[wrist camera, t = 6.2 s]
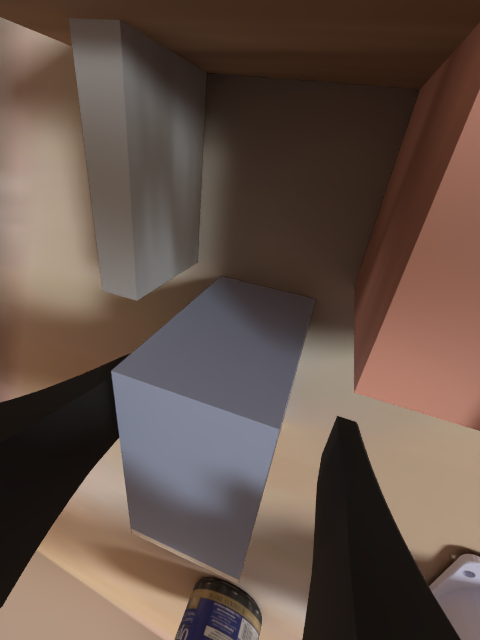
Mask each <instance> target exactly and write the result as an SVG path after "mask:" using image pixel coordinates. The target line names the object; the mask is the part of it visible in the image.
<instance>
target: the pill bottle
mask: <svg viewBox="0 0 480 640" xmlns="http://www.w3.org/2000/svg"><path fill="white" fill-rule="evenodd" d="M261 624H262V616H261V612H260V610H259V608H258V606H257V605H256V604H255V602H254V601H253V600H252V599H251V598H250V597H249V596H248V595H247V594H245V593H244V592H243V591H241V590H239V589H237V588H236V587H234V586H232V585H230V584H228V583H226V582H223V581H220V580H217V579H214V578H205V579H201V580H200V581H198V582H197V583H196V585H195V587H194V589H193V592H192V594H191V596H190V599H189V602H188V605H187V607H186V610H185V613H184V616H183V618H182V621H181V624H180V626H179V629H178V631H177V634H176V637H175V640H259V635H260V630H261Z"/></svg>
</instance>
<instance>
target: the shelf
mask: <svg viewBox="0 0 480 640" xmlns="http://www.w3.org/2000/svg"><path fill="white" fill-rule="evenodd" d="M0 17H2V18H4V19H7V20H9V21H12V22H14V23H17V24H19V25H21V26H24V27H26V28H29V29H31V30H34V31H36V32H38V33H41V34H43V35H46V36H48V37H51V38H53V39H56V40H58V41H60V42H63V43H65V44H68V45H70V46H72V49H73V57H74V65H75V73H76V81H77V89H78V97H79V106H80V114H81V122H82V130H83V138H84V146H85V154H86V162H87V170H88V178H89V187H90V195H91V203H92V211H93V219H94V227H95V235H96V243H97V251H98V260H99V268H100V276H101V284H102V291H104V292H108V293H111V294H115V295H118V296H122V297H125V298H129V299H132V300H136V301H137V300H139V299H141V298H142V297H144V296H145V295H147V294H148V293H150V292H152V291H153V290H155V289H156V288H158V287H159V286H161V285H163V284H164V283H166V282H167V281H169V280H170V279H172V278H174V277H175V276H177V275H178V274H180V273H181V272H183V271H185V270H186V269H188V268H189V267H191V266H193V265H194V264H196V263H197V262H198V245H199V224H200V203H201V182H202V162H203V141H204V120H205V100H206V79H207V73H218V74H231V75H244V76H256V77H269V78H282V79H295V80H308V81H320V82H333V83H346V84H359V85H371V86H384V87H397V88H410V89H420V91H419V94H418V97H417V100H416V103H415V106H414V109H413V112H412V115H411V118H410V121H409V124H408V127H407V130H406V133H405V136H404V139H403V142H402V145H401V148H400V151H399V154H398V157H397V160H396V163H395V166H394V169H393V172H392V175H391V178H390V181H389V184H388V187H387V190H386V193H385V196H384V199H383V202H382V205H381V208H380V211H379V214H378V217H377V220H376V223H375V226H374V229H373V232H372V235H371V238H370V241H369V244H368V247H367V250H366V253H365V256H364V259H363V262H362V265H361V268H360V271H359V274H358V277H357V280H356V283H355V305H354V393H358V394H361V395H364V396H367V397H371V398H374V399H377V400H381V401H384V402H387V403H390V404H394V405H397V406H400V407H404V408H407V409H410V410H413V411H417V412H420V413H423V414H427V415H430V416H433V417H436V418H440V419H443V420H446V421H450V422H453V423H456V424H459V425H463V426H466V427H469V428H473V429H476V430H479V431H480V0H0Z"/></svg>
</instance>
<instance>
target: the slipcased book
mask: <svg viewBox="0 0 480 640" xmlns="http://www.w3.org/2000/svg"><path fill="white" fill-rule="evenodd" d="M315 301H316V299H314V298H309V297H305V296H301V295H297V294H293V293H289V292H285V291H280V290H276V289H272V288H268V287H264V286H260V285H256V284H251V283H247V282H243V281H239V280H235V279H231V278H227V277H222V276H221V277H220V278H219V279H218V280H216V281H215V282H214V283H213V284H212V285H211V286H209V287H208V288H207V289H206V290H205V291H204V292H202V293H201V294H200V295H199V296H198V297H197V298H195V299H194V300H193V301H192V302H191V303H190V304H188V305H187V306H186V307H185V308H184V309H183V310H181V311H180V312H179V313H178V314H177V315H176V316H174V317H173V318H172V319H171V320H170V321H169V322H167V323H166V324H165V325H164V326H163V327H162V328H161V329H159V330H158V331H157V332H156V333H155V334H154V335H152V336H151V337H150V338H149V339H148V340H147V341H145V342H144V343H143V344H142V345H141V346H140V347H138V348H137V349H136V350H135V351H134V352H133V353H131V354H130V355H129V356H128V357H127V358H126V359H124V360H123V361H122V362H121V363H120V364H119V365H117V366H116V367H115V368H114V369H113V370H112V371H111V374H112V382H113V390H114V398H115V406H116V414H117V422H118V430H119V438H120V446H121V453H122V461H123V469H124V477H125V485H126V493H127V501H128V509H129V517H130V525H131V533H133V534H135V535H137V536H139V537H141V538H143V539H145V540H147V541H149V542H151V543H153V544H155V545H157V546H159V547H162V548H164V549H166V550H168V551H170V552H172V553H174V554H176V555H178V556H180V557H182V558H184V559H186V560H188V561H191V562H193V563H195V564H197V565H199V566H201V567H203V568H205V569H207V570H209V571H211V572H213V573H215V574H217V575H220V576H222V577H224V578H226V579H228V580H230V581H232V582H234V583H236V584H238V582H239V579H240V575H241V572H242V568H243V564H244V561H245V557H246V553H247V550H248V546H249V542H250V539H251V535H252V532H253V528H254V524H255V521H256V517H257V513H258V510H259V506H260V502H261V499H262V495H263V492H264V488H265V484H266V481H267V477H268V473H269V470H270V466H271V462H272V459H273V455H274V452H275V448H276V444H277V441H278V437H279V433H280V430H281V426H282V422H283V419H284V415H285V411H286V408H287V404H288V400H289V397H290V393H291V389H292V385H293V382H294V378H295V374H296V371H297V367H298V363H299V360H300V356H301V352H302V349H303V345H304V341H305V337H306V334H307V330H308V326H309V323H310V319H311V315H312V312H313V308H314V304H315Z"/></svg>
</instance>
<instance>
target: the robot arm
mask: <svg viewBox="0 0 480 640" xmlns="http://www.w3.org/2000/svg"><path fill="white" fill-rule="evenodd" d="M132 353H133V352H132ZM130 354H131V353H130ZM130 354H128V355H125V356H123V357H121V358H118V359H116V360H114V361H112V362H109V363H107V364H105V365H102V366H100V367H98V368H96V369H93V370H91V371H89V372H86V373H84V374H82V375H79V376H77V377H74V378H72V379H69V380H66V381H64V382H61V383H59V384H56V385H54V386H51V387H48V388H46V389H43V390H40V391H37V392H34V393H31V394H28V395H25V396H21V397H18V398H15V399H12V400H8V401H4V402H1V403H0V608H1V607H2V606H3V604H4V602H5V601H6V599H7V597H8V596H9V594H10V592H11V590H12V589H13V587H14V586H15V584H16V582H17V581H18V579H19V577H20V576H21V574H22V572H23V571H24V569H25V567H26V566H27V564H28V562H29V561H30V559H31V557H32V556H33V554H34V553H35V551H36V550H37V548H38V547H39V545H40V544H41V542H42V540H43V539H44V537H45V536H46V534H47V533H48V531H49V530H50V528H51V526H52V525H53V523H54V522H55V521H56V519H57V518H58V516H59V515H60V513H61V512H62V510H63V509H64V507H65V506H66V504H67V503H68V501H69V500H70V499H71V497H72V496H73V494H74V493H75V492H76V490H77V489H78V487H79V486H80V485H81V483H82V482H83V480H84V479H85V478H86V476H87V475H88V474H89V472H90V471H91V470H92V469H93V467H94V466H95V465H96V464H97V462H98V461H99V460H100V459H101V458H102V457H103V455H104V454H105V453H106V452H107V451H108V450H109V449H110V447H111V446H112V445H113V444H114V443H115V442H116V440H117V439H118V438H119V430H118V422H117V414H116V406H115V398H114V390H113V382H112V374H111V371H112V370H113V369H114V368H115V367H116V366H117V365H119V364H120V363H121V362H122V361H123V360H124V359H126V358H127V357H128V356H129V355H130ZM303 640H480V557H479V556H477V555H473V554H463V555H461V556H460V557H459V558H458V559H457V560H456V561H455V562H454V563H453V564H452V565H451V566H450V567H449V568H447V569H446V570H445V571H444V572H443V573H442V574H441V575H440V576H439V577H438V578H437V579H436V580H435V581H434V582H433V583H432V584H431V585H430V586H428V584H427V582H426V580H425V579H424V577H423V575H422V573H421V571H420V570H419V568H418V566H417V564H416V562H415V560H414V559H413V557H412V555H411V553H410V551H409V549H408V547H407V545H406V543H405V541H404V539H403V537H402V535H401V533H400V531H399V529H398V527H397V525H396V523H395V521H394V519H393V516H392V514H391V512H390V510H389V508H388V505H387V503H386V501H385V499H384V496H383V494H382V492H381V489H380V487H379V484H378V482H377V479H376V477H375V474H374V472H373V469H372V466H371V464H370V461H369V458H368V455H367V452H366V449H365V446H364V443H363V440H362V437H361V434H360V430H359V427H358V424H357V423H356V422H354V421H351V420H348V419H345V418H342V417H339V416H337V418H336V421H335V423H334V426H333V428H332V431H331V433H330V436H329V438H328V441H327V443H326V446H325V448H324V451H323V453H322V457H321V463H320V469H319V475H318V482H317V494H316V512H315V532H314V551H313V565H312V576H311V583H310V591H309V598H308V605H307V612H306V619H305V626H304V633H303Z"/></svg>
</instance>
